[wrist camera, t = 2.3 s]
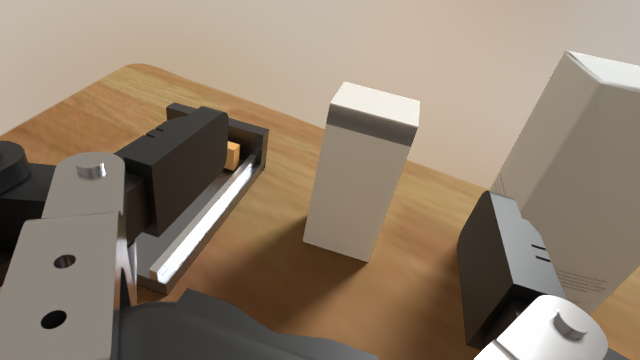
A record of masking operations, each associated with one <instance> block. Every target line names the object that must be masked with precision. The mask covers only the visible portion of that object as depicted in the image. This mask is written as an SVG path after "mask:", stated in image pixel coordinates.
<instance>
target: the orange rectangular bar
mask: <svg viewBox="0 0 640 360" xmlns="http://www.w3.org/2000/svg"><path fill="white" fill-rule="evenodd" d="M239 149H240V145H239V144H236V143H233V142H229V141H228V148H227V160H226V164H225V166H224V168H226V169H230V170H233V171H234V170H235V168H236V167H237V166H238V165H239Z"/></svg>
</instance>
